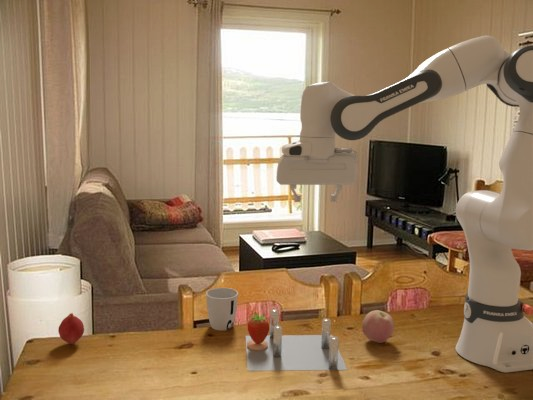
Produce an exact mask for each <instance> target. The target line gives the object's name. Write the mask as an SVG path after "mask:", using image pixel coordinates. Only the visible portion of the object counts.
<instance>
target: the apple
mask: <svg viewBox="0 0 533 400" xmlns="http://www.w3.org/2000/svg"><path fill="white" fill-rule="evenodd" d="M361 329H362V332H363V334H364V336H365V337H366V338H367V339H368V340H370V341H373V342H375V343H376V344H377V343H378V344H381V343H384V342H386V341H387V340H389V339H390V338H391V337H392V335H393V332H394V330H395V321H394V318H393V317H392V316H391V315H390V314H389V313H387V312H385V311H382V310H379V309H375V310H374V309H373V310H372V311H369V312H368V313H367V314H365V317H364V318H363V321H362V328H361Z"/></svg>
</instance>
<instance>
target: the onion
mask: <svg viewBox="0 0 533 400" xmlns="http://www.w3.org/2000/svg"><path fill="white" fill-rule="evenodd" d="M84 332H85V325H84V323H83V321H82V320H81V319H80V318H79V317H77V316H76V315H74V313H73V312H70V313H69V314H68V315H67V316H66V317H64V318H63V319H62V320H61V322H60V324H59V326H58V335H59V337H60V339H61V340H63V341H64V342H66V343H67V344H70V345H75V344H76V342H78V341H79V340H80V339H81V338H82V337H83V335H84Z"/></svg>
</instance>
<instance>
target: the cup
mask: <svg viewBox="0 0 533 400" xmlns="http://www.w3.org/2000/svg"><path fill="white" fill-rule="evenodd" d="M205 295H206V309H207V315H208V320H209V322H208V323H210V327H211V329H213V330H216V331H221V332H222V331H228V330H231V329H232V328H233V326H234V325H235V324H234V323H235V321H236V314H237V309H238V296H239V292H238V291H237V290H236V289H234V288H230V287H216V288H211V289H208V290H207V291H206V292H205Z"/></svg>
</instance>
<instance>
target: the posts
mask: <svg viewBox="0 0 533 400" xmlns="http://www.w3.org/2000/svg"><path fill="white" fill-rule="evenodd" d="M269 311H270V314H269V315H270V316H269V335H270V338H272V339H273V357H275V358H279V357H281V350H282V335H283V326H282V325H279V310H278V309H276V308H272V309H270V310H269ZM321 320H322V321H321V335H322V342H321V348H322V349H329V367H328V368H329V369H331V370H330V371H337V370H336V369H337V368H338V349H339V348H340V347H339V345H340V338H339V337H338V336H334V335H333V336H332V337H330V335H331V328H332V327H331V324H332V320H331V319H330V318H323V319H321Z"/></svg>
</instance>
